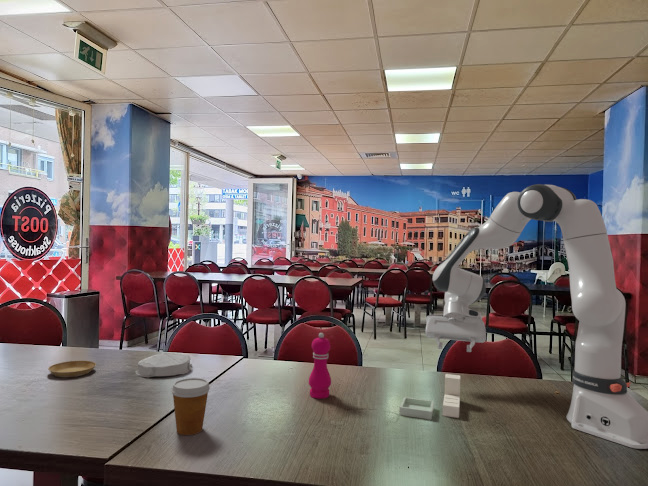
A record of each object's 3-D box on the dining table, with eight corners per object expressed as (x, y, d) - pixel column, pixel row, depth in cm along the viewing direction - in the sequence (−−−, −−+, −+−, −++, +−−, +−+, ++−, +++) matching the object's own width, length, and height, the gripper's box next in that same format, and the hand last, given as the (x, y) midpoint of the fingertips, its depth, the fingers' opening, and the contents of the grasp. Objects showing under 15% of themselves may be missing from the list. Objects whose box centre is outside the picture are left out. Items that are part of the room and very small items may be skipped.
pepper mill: (328, 400, 136) (330, 335, 136) (305, 398, 137) (307, 334, 137) (332, 392, 143) (334, 331, 143) (311, 390, 144) (312, 329, 144)
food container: (182, 380, 152) (183, 361, 152) (125, 377, 152) (126, 358, 152) (199, 365, 172) (200, 347, 172) (149, 362, 172) (150, 345, 172)
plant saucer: (83, 364, 166) (84, 358, 166) (103, 372, 157) (104, 365, 157) (40, 373, 154) (40, 366, 154) (59, 382, 145) (59, 374, 145)
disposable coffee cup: (187, 442, 105) (189, 392, 105) (161, 431, 110) (163, 384, 110) (216, 428, 113) (218, 381, 113) (191, 419, 118) (192, 375, 118)
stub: (444, 398, 140) (445, 373, 140) (459, 400, 139) (460, 375, 139) (444, 403, 136) (445, 377, 136) (459, 405, 135) (460, 379, 135)
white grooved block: (444, 403, 136) (444, 393, 136) (459, 405, 134) (459, 395, 134) (442, 415, 126) (442, 404, 126) (459, 418, 125) (459, 407, 125)
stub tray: (403, 404, 134) (403, 396, 134) (433, 408, 132) (433, 401, 132) (399, 414, 126) (399, 407, 126) (431, 419, 123) (431, 411, 123)
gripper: (426, 308, 159) (422, 341, 150) (486, 313, 153) (486, 347, 143) (426, 319, 163) (423, 351, 154) (485, 323, 157) (485, 357, 148)
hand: (454, 349), depth 149 cm, fingers open, 8 cm apart
